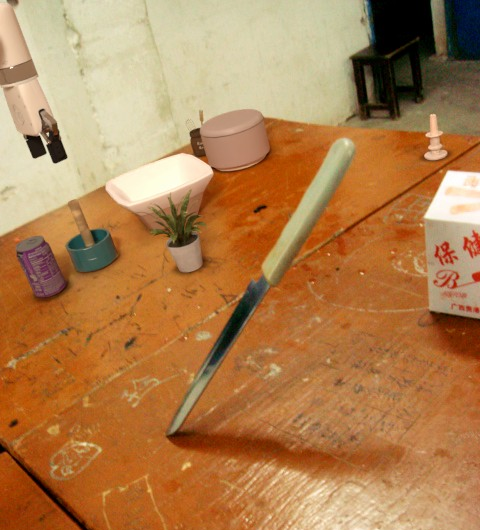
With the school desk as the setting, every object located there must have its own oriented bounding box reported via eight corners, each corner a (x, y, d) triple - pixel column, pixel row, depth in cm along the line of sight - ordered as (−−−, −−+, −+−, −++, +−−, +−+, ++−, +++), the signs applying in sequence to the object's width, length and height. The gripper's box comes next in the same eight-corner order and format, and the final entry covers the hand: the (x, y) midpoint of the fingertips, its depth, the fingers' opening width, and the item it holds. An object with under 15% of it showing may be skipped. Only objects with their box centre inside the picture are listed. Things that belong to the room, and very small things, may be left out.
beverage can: (44, 284, 143) (22, 236, 137) (72, 280, 141) (51, 232, 135) (30, 301, 137) (6, 253, 131) (59, 298, 135) (36, 249, 129)
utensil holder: (190, 155, 194) (178, 117, 188) (205, 147, 197) (194, 109, 191) (202, 157, 190) (191, 118, 184) (217, 149, 193) (207, 110, 187)
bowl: (139, 251, 145) (123, 209, 140) (113, 220, 165) (98, 182, 160) (232, 213, 151) (220, 171, 145) (195, 187, 171) (184, 149, 165)
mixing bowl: (89, 278, 140) (79, 254, 137) (67, 267, 147) (57, 245, 144) (126, 256, 145) (118, 233, 142) (104, 247, 152) (95, 225, 149)
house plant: (158, 295, 126) (131, 221, 118) (148, 266, 138) (123, 197, 129) (226, 271, 128) (204, 196, 119) (210, 245, 139) (189, 175, 131)
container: (284, 148, 180) (275, 107, 174) (243, 175, 170) (233, 132, 164) (236, 146, 191) (227, 107, 185) (196, 171, 181) (185, 131, 175)
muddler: (93, 265, 144) (69, 206, 136) (86, 261, 146) (61, 203, 138) (107, 257, 145) (83, 199, 138) (99, 254, 148) (75, 196, 140)
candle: (437, 149, 153) (434, 106, 148) (452, 154, 149) (449, 110, 143) (419, 157, 152) (416, 114, 146) (433, 162, 148) (430, 118, 142)
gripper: (-18, 79, 128) (17, 161, 137) (17, 81, 116) (52, 170, 125) (16, 68, 132) (47, 148, 141) (53, 68, 119) (85, 156, 128)
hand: (50, 158), depth 133 cm, fingers open, 9 cm apart
